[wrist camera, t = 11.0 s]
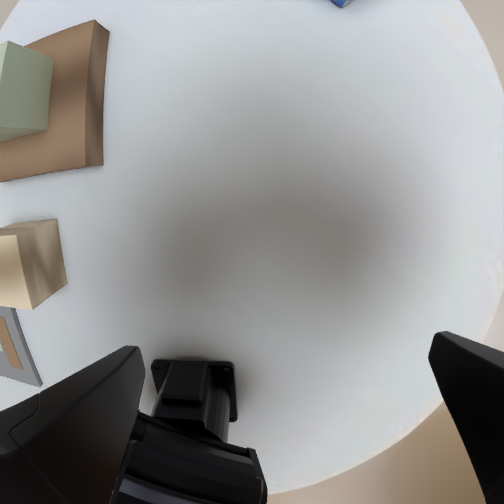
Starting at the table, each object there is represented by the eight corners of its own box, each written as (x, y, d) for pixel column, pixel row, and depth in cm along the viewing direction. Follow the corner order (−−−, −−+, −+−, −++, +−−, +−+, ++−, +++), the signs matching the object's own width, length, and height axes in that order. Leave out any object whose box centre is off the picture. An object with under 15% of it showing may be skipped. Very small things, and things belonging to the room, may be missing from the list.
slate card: (42, 383, 24) (39, 387, 23) (-3, 370, 24) (-6, 373, 23) (11, 296, 21) (6, 299, 20) (-32, 291, 21) (-36, 293, 20)
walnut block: (106, 164, 19) (85, 166, 16) (9, 180, 19) (-14, 185, 16) (112, 34, 16) (94, 19, 13) (14, 68, 16) (-7, 62, 13)
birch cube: (68, 282, 21) (32, 310, 16) (25, 280, 21) (-11, 304, 16) (57, 218, 19) (16, 234, 14) (14, 223, 19) (-26, 238, 14)
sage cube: (47, 129, 15) (-5, 126, 10) (0, 142, 15) (-49, 144, 10) (54, 58, 14) (7, 40, 9) (5, 77, 14) (-40, 68, 9)
